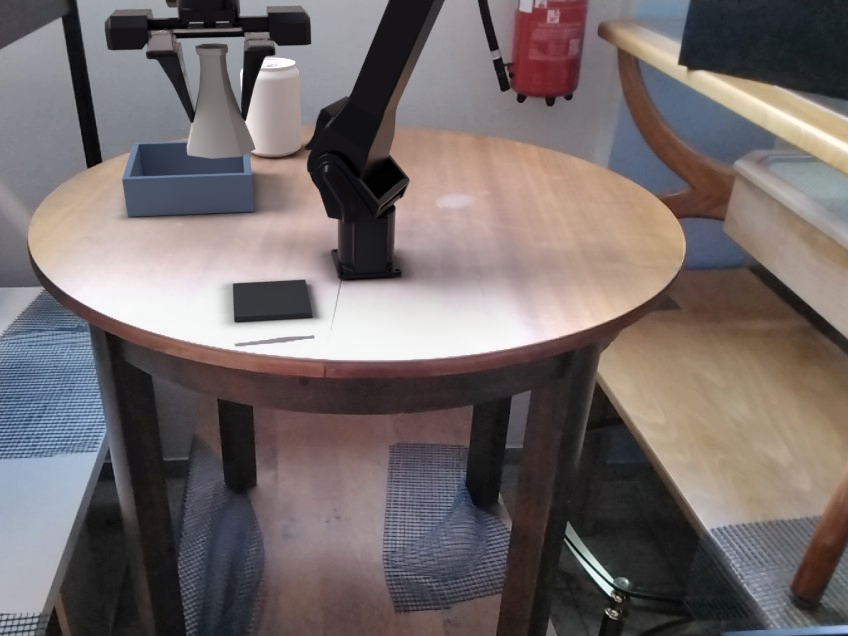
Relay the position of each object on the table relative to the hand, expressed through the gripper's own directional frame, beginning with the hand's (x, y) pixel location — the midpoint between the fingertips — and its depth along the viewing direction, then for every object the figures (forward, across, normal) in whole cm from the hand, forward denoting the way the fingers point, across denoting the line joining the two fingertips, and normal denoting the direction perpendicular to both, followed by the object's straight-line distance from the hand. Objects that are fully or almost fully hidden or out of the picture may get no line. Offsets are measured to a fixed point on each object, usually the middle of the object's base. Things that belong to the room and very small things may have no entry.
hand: (218, 121), depth 79 cm
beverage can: (+13, -6, -33) cm, 36 cm away
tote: (+12, +5, -16) cm, 21 cm away
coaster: (+13, -4, +15) cm, 20 cm away
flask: (+3, 0, 0) cm, 3 cm away
